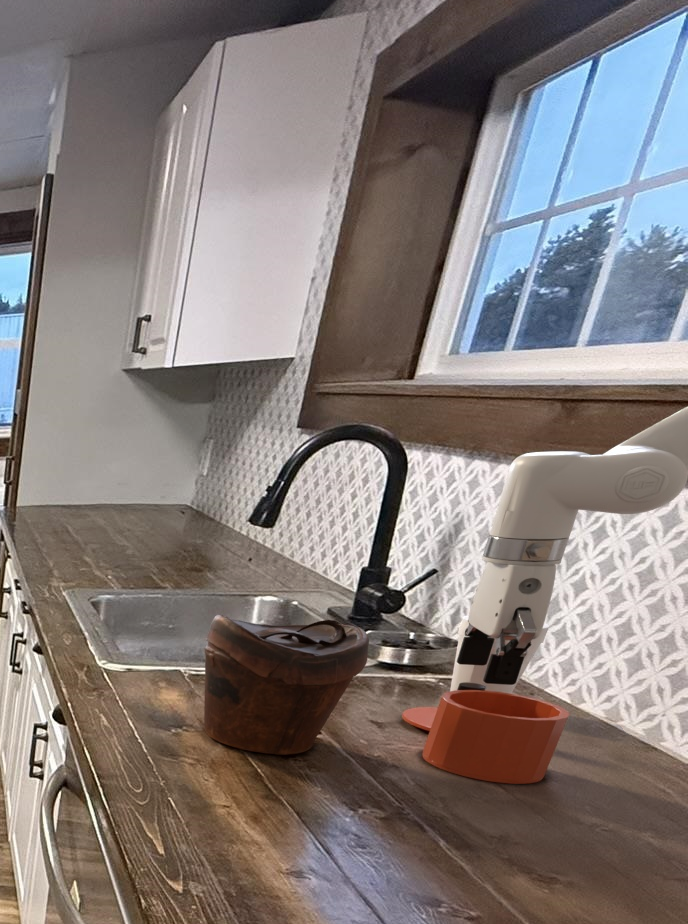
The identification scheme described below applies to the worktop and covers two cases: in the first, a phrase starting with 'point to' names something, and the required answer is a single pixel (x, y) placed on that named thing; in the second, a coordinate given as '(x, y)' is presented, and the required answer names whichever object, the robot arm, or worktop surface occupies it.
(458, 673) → the foam cup
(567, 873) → the worktop surface
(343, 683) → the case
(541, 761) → the pot
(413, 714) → the pot lid
